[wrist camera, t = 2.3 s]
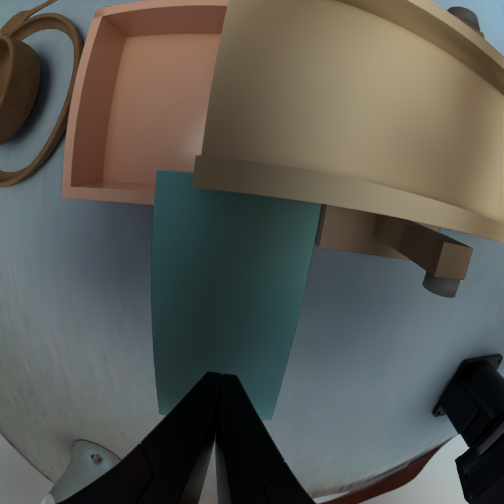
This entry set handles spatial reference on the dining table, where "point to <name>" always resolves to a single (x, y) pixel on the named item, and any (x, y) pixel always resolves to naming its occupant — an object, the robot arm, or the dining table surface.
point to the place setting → (29, 80)
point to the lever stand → (401, 231)
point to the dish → (140, 97)
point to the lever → (314, 170)
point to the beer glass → (81, 470)
